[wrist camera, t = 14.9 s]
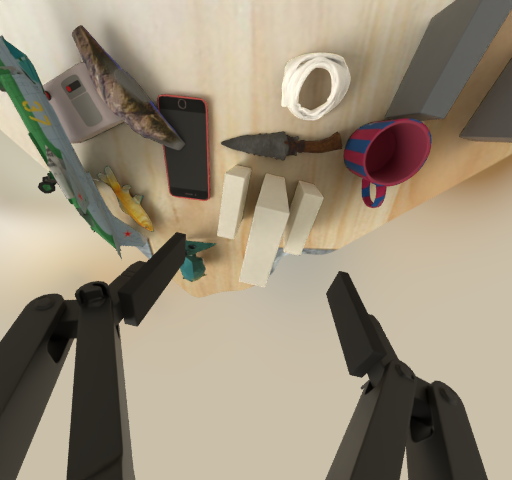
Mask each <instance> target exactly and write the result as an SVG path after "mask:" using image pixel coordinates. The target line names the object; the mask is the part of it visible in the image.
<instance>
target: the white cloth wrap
mask: <svg viewBox="0 0 512 480" xmlns="http://www.w3.org/2000/svg"><path fill="white" fill-rule="evenodd" d="M303 62H306V63H304V64H302V65H300V66H299V64H300V63H303ZM315 68H324V69H326V70H327V71H328V72H329V73H330V76H331V81H332V88H331V94H330V96H329V97H328V99H327V102H326V103H324V104H323V105H321V106H319V107H317V108H315V109H313V110H308V109H307V108H304V107H301V104H299V103H298V100H299V93H300V90H301V87H302V85H303V83H304V81H305V79H306V78H307V76H308V75H309V73H310V72H311V71H312V70H313V69H315ZM284 72H285V75H284V78H283V84H282V102H281V105H282V107H287V106H288V108H289V110H290V111H291V113H292V114H293V115H295V116H296V117H297V118H299V119H302V120H311V121H315V120H317V119H319V118H321V117H322V116H324V115H326V114H327V113H329V112H330V111H331V110H332V109H333V108H335V107H336V106H337V105H338V104H339V103H340V102H341V100H342V99H343V98H344V96H345V95H346V93H347V91H348V88H349V85H350V81H351V76H350V72H349V69H348V66H347V65H346V63H345V60H344V58H343V57H342V56H339V55H337V54H332V53H326V52H321V53H311V54H304V55H301V56H298V57H295V58H293V59H291V60H289V61H288V63H287V64H286V65H285V70H284Z"/></svg>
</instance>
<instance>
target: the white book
mask: <svg viewBox="0 0 512 480" xmlns="http://www.w3.org/2000/svg"><path fill="white" fill-rule="evenodd" d="M289 214H290V213H289V206H288V199H287V192H286V185H285V178H284V177H280V176H276V175H272V174H268V173H266V174H265V178H264V181H263V184H262V187H261V191H260V194H259V197H258V201H257V204H256V207H255V212H254V216H253V221H252V225H251V230H250V234H249V238H248V243H247V247H246V252H245V256H244V260H243V265H242V269H241V274H240V278H239V282H243V283H248V284H252V285H256V286H261V287H266V284H267V281H268V278H269V275H270V272H271V269H272V266H273V263H274V260H275V257H276V254H277V251H278V248H279V245H280V241H281V238H282V235H283V232H284V229H285V226H286V223H287V220H288V217H289Z"/></svg>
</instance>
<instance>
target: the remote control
mask: <svg viewBox="0 0 512 480" xmlns="http://www.w3.org/2000/svg"><path fill="white" fill-rule="evenodd" d="M43 88H44V91H45V93H46V95H47V98H48V100H49V103H50V104H51V105H52V107H53V109H54V111H55V113H56V115H57V117H58V119H59V121H60V123H61V125H62V127H63V129H64V131H65V133H66V135H67V137H68V139H69V141H70V143H81V142H83V141H85V140H87V139H89V138H92V137H94V136H96V135H98V134H100V133H102V132H104V131H106V130H108V129H110V128H112V127H114V126H116V125H118V124H121V123H123V122H125V121H124V120H123V119H122V118H121V117H120V116H117V115H115V114H114V113H113V112H112V111H111V110H110V108H109V107H108V106H107V105H106V104H105V102H104V101H103V100H102V98H101V97H100V95H99V94H98V92H97V91H96V89H95V87H94V85H93V83H92V80H91V78H90V76H89V73H88V70H87V67H86V64H85V62H82V63H79V64H77V65H75V66H73V67H72V68H70V69H68V70H67V71H65V72H64V73H62V74H60V75H59V76H57V77H56V78H54V79H52V80H51V81H49V82H48V83H46V84H44V85H43Z"/></svg>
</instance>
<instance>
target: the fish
mask: <svg viewBox="0 0 512 480" xmlns="http://www.w3.org/2000/svg"><path fill="white" fill-rule="evenodd" d="M105 172H106V175H105V174H102V173H99V174H98V175H97V176H98V177H99V178H100V179H101V180H102V181H104V182H105V183H106V184H108V185H109V186H110V187H111V188H112V189H113V191H114V193H115V194H116V196H117V199H118V202H119V204H120V208H121V209H122V211H123V212H125V213H127V214H128V215H130V216H131V217H132V218H133V219H134V220H135V221H136V222H137V223H138V224H139V225H141V226H142V227H143V228H145V229H147V230H149V231H151V232H153V231H154V230H153V226H152V222H151V220H150V218H149V216H148V215H147V213H146V212H145V211H144V210H143V208H142V207H141V206H140V202H141V200H142V198H143V196H141V195H135V196H134V197H133V198H132V197H131V196H130V194H129V189H130V188H131V186H129V185H128V184H127V185H124V186H123V187H120V185H119V183H118V181H117V179H116V177H115V176H114V174H113V172H112V170H111V169H110V167H108V166H106V168H105Z"/></svg>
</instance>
